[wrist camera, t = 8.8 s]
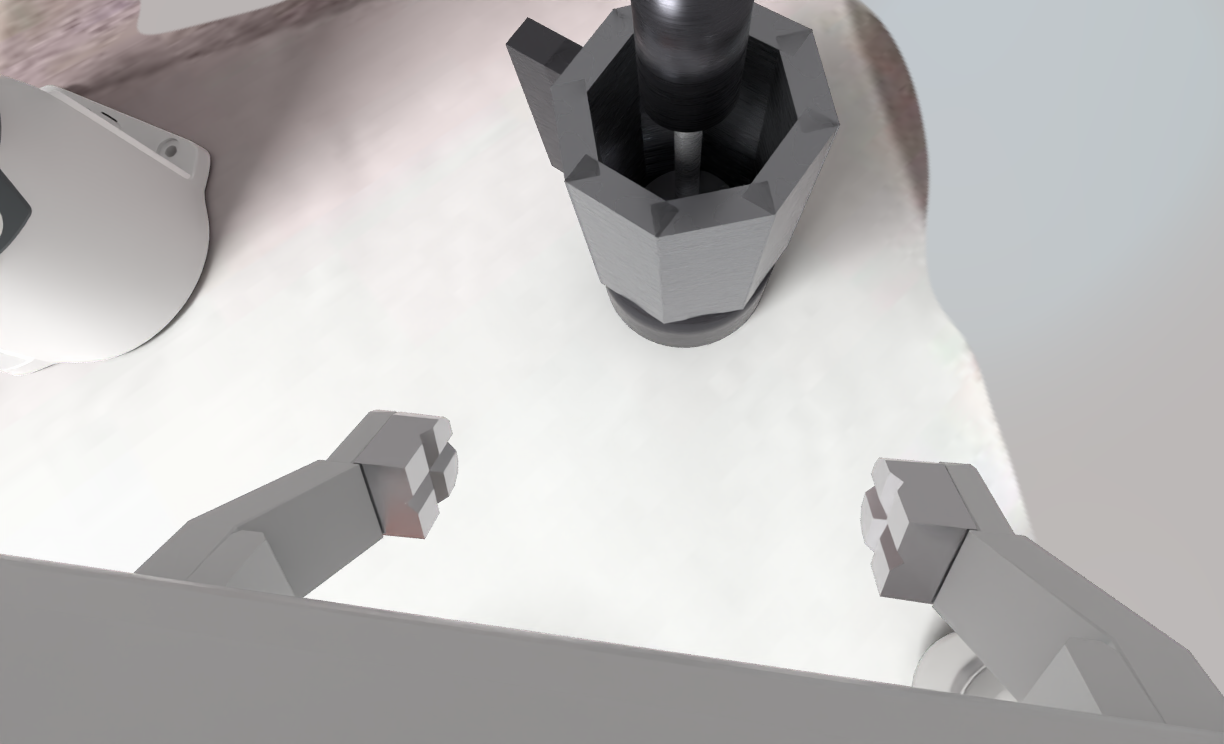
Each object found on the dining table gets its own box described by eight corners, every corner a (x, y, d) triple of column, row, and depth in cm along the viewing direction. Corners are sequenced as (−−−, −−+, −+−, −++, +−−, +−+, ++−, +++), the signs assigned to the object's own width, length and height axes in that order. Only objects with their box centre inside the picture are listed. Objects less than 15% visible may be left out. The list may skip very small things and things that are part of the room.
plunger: (613, 237, 27) (546, -30, 13) (672, 158, 27) (666, -175, 14) (700, 291, 26) (724, 61, 12) (759, 208, 26) (847, -102, 13)
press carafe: (531, 263, 33) (430, 102, 20) (620, 146, 34) (583, -82, 21) (706, 379, 31) (728, 285, 17) (797, 249, 32) (887, 62, 18)
